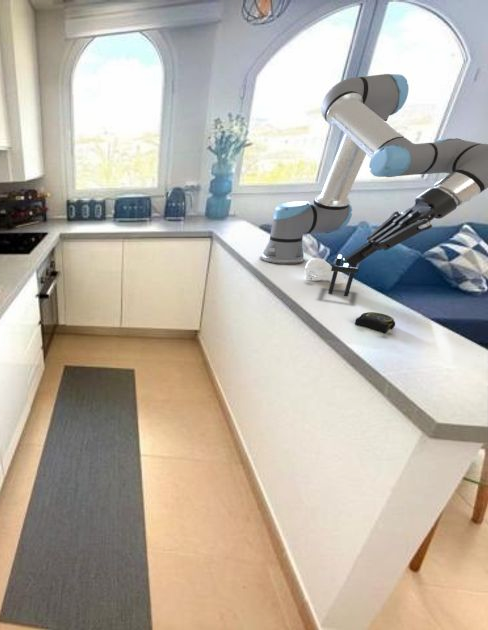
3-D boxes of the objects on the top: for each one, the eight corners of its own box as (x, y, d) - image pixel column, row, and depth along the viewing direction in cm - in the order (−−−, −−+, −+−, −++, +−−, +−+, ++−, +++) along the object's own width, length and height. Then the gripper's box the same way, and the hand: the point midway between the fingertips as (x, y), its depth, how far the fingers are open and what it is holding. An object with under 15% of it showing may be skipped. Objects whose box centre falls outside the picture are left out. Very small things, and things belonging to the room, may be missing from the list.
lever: (357, 275, 95) (359, 267, 94) (330, 272, 98) (332, 264, 97) (357, 267, 104) (360, 259, 103) (333, 264, 108) (335, 257, 107)
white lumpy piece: (311, 254, 122) (352, 262, 114) (303, 277, 126) (343, 286, 118) (306, 259, 118) (348, 267, 110) (298, 281, 122) (338, 291, 114)
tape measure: (351, 328, 90) (355, 315, 89) (365, 321, 93) (369, 309, 92) (382, 338, 85) (387, 325, 83) (396, 331, 88) (401, 317, 86)
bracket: (352, 304, 103) (364, 263, 98) (320, 299, 108) (329, 260, 102) (354, 293, 111) (365, 254, 105) (324, 288, 115) (333, 251, 110)
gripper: (474, 211, 79) (368, 279, 90) (435, 204, 91) (345, 265, 102) (455, 188, 79) (350, 259, 90) (417, 184, 90) (329, 247, 101)
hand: (348, 262), depth 96 cm, fingers closed
